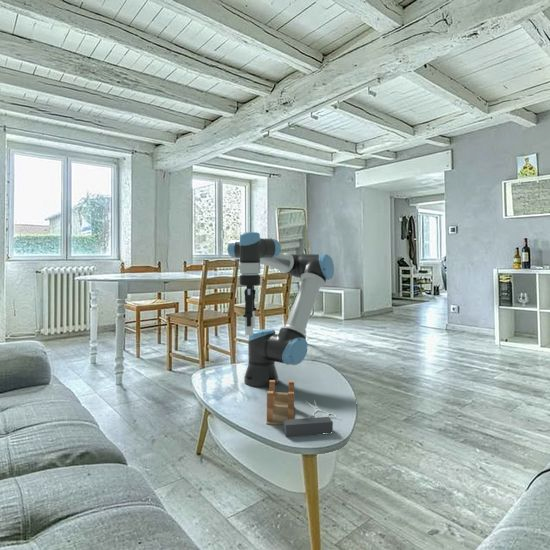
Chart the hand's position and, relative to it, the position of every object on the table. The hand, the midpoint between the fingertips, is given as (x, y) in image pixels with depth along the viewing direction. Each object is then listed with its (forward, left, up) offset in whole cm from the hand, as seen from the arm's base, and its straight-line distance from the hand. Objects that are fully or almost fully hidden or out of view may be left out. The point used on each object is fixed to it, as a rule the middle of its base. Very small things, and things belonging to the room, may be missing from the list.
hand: (250, 331), depth 143 cm
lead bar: (+22, +21, -28) cm, 41 cm away
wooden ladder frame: (+9, +12, -28) cm, 31 cm away
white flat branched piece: (+3, +25, -28) cm, 38 cm away
